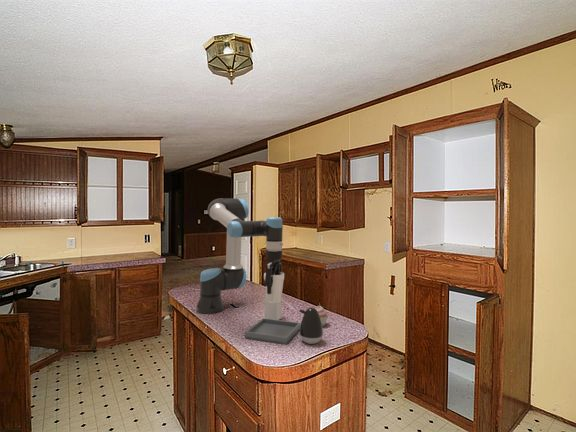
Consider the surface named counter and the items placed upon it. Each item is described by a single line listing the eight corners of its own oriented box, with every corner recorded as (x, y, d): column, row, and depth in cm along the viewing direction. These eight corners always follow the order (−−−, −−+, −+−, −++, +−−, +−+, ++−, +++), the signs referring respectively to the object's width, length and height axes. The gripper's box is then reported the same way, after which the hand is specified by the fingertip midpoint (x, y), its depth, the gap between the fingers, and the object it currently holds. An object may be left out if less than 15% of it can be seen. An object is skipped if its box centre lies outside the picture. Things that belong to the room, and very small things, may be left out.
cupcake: (305, 324, 168) (306, 304, 168) (319, 320, 174) (319, 301, 173) (318, 329, 161) (318, 309, 160) (332, 325, 166) (332, 305, 166)
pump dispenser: (298, 337, 150) (298, 304, 150) (320, 337, 151) (320, 304, 151) (300, 346, 140) (301, 311, 140) (324, 346, 141) (325, 310, 141)
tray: (244, 338, 149) (245, 331, 149) (262, 324, 168) (262, 318, 168) (286, 344, 142) (286, 337, 142) (300, 329, 161) (300, 323, 161)
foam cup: (281, 304, 149) (281, 275, 149) (261, 303, 151) (261, 275, 151) (285, 299, 158) (285, 272, 158) (267, 297, 160) (267, 271, 160)
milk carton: (281, 317, 178) (282, 282, 177) (277, 322, 171) (277, 285, 171) (269, 316, 180) (269, 281, 180) (264, 320, 173) (264, 284, 173)
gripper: (272, 253, 142) (272, 305, 143) (289, 248, 163) (289, 293, 164) (257, 252, 145) (256, 303, 145) (275, 247, 166) (275, 291, 166)
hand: (274, 297), depth 155 cm, fingers closed on foam cup, 9 cm apart
